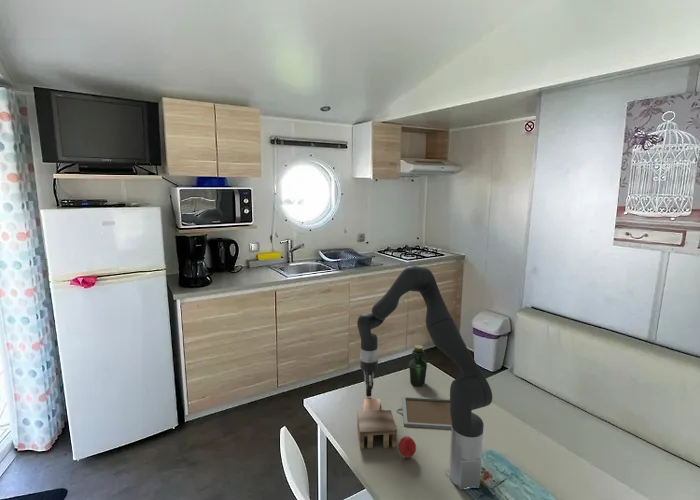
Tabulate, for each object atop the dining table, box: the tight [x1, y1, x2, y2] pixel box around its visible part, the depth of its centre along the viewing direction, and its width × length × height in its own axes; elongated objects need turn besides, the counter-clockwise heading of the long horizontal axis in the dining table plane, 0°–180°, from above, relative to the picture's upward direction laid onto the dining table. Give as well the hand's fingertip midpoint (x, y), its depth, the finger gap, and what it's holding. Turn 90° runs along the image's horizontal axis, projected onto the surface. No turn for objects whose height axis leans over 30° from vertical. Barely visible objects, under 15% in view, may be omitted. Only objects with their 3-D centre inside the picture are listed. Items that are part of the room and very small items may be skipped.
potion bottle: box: [408, 344, 428, 388], centre depth 170 cm, size 8×8×18 cm
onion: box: [397, 435, 417, 459], centre depth 123 cm, size 6×6×8 cm
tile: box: [362, 397, 381, 411], centre depth 149 cm, size 13×6×2 cm, turn 173°
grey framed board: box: [395, 395, 452, 430], centre depth 148 cm, size 19×2×30 cm
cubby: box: [356, 409, 398, 449], centre depth 134 cm, size 12×13×6 cm
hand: (368, 395), depth 159 cm, fingers closed
